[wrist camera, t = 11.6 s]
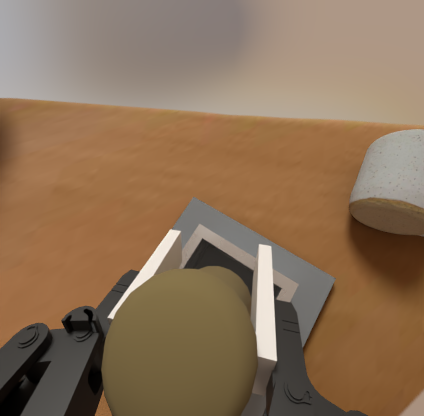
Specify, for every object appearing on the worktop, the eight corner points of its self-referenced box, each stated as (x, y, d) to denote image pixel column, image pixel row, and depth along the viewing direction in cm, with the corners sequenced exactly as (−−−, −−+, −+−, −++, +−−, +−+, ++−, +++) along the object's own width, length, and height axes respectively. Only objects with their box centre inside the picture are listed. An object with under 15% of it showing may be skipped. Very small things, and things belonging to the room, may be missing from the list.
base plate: (119, 312, 24) (114, 313, 23) (195, 199, 27) (193, 196, 26) (258, 431, 19) (259, 439, 18) (331, 278, 22) (335, 278, 21)
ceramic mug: (332, 216, 24) (374, 192, 17) (353, 159, 26) (399, 115, 19) (434, 257, 22) (535, 251, 15) (450, 191, 24) (546, 156, 16)
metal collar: (157, 311, 23) (135, 320, 18) (207, 233, 24) (199, 223, 20) (237, 374, 20) (236, 406, 15) (285, 282, 22) (298, 284, 17)
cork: (179, 356, 15) (54, 532, 5) (171, 272, 17) (69, 270, 7) (261, 345, 15) (312, 510, 4) (243, 259, 17) (251, 237, 6)
